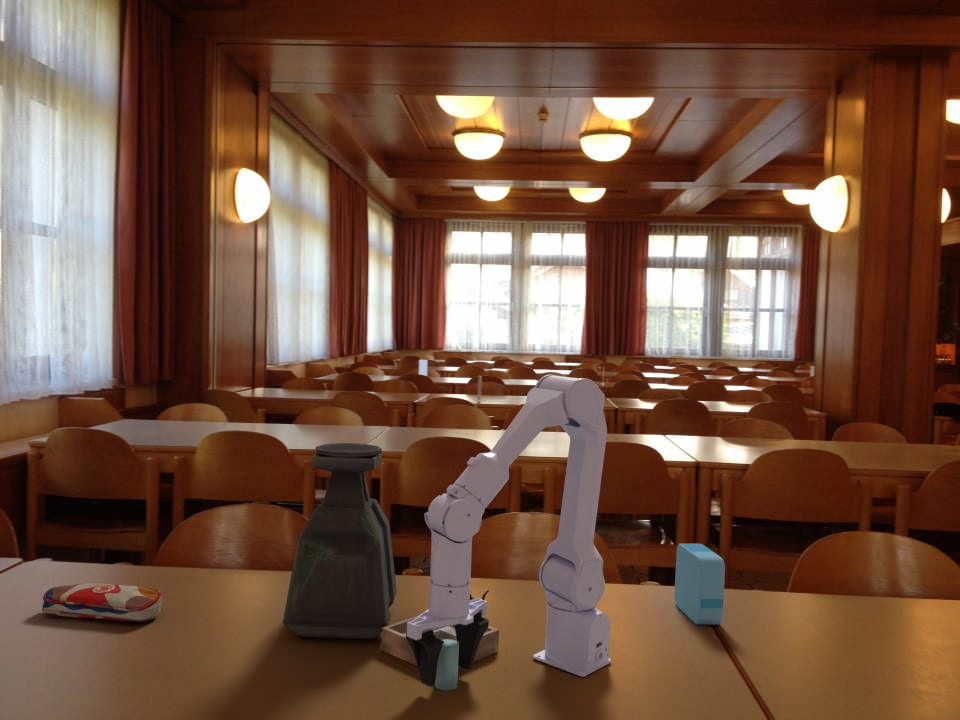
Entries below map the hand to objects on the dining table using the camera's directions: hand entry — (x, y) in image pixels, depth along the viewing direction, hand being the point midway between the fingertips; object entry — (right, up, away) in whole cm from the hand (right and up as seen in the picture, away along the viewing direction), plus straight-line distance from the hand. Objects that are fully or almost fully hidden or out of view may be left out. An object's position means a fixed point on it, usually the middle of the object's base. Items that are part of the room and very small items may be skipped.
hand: (446, 675), depth 112 cm
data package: (+45, -2, +33) cm, 55 cm away
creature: (+2, -1, +28) cm, 28 cm away
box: (-2, -1, +12) cm, 12 cm away
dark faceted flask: (-18, 0, +22) cm, 28 cm away
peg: (0, -1, 0) cm, 1 cm away
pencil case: (-59, +1, +21) cm, 63 cm away
